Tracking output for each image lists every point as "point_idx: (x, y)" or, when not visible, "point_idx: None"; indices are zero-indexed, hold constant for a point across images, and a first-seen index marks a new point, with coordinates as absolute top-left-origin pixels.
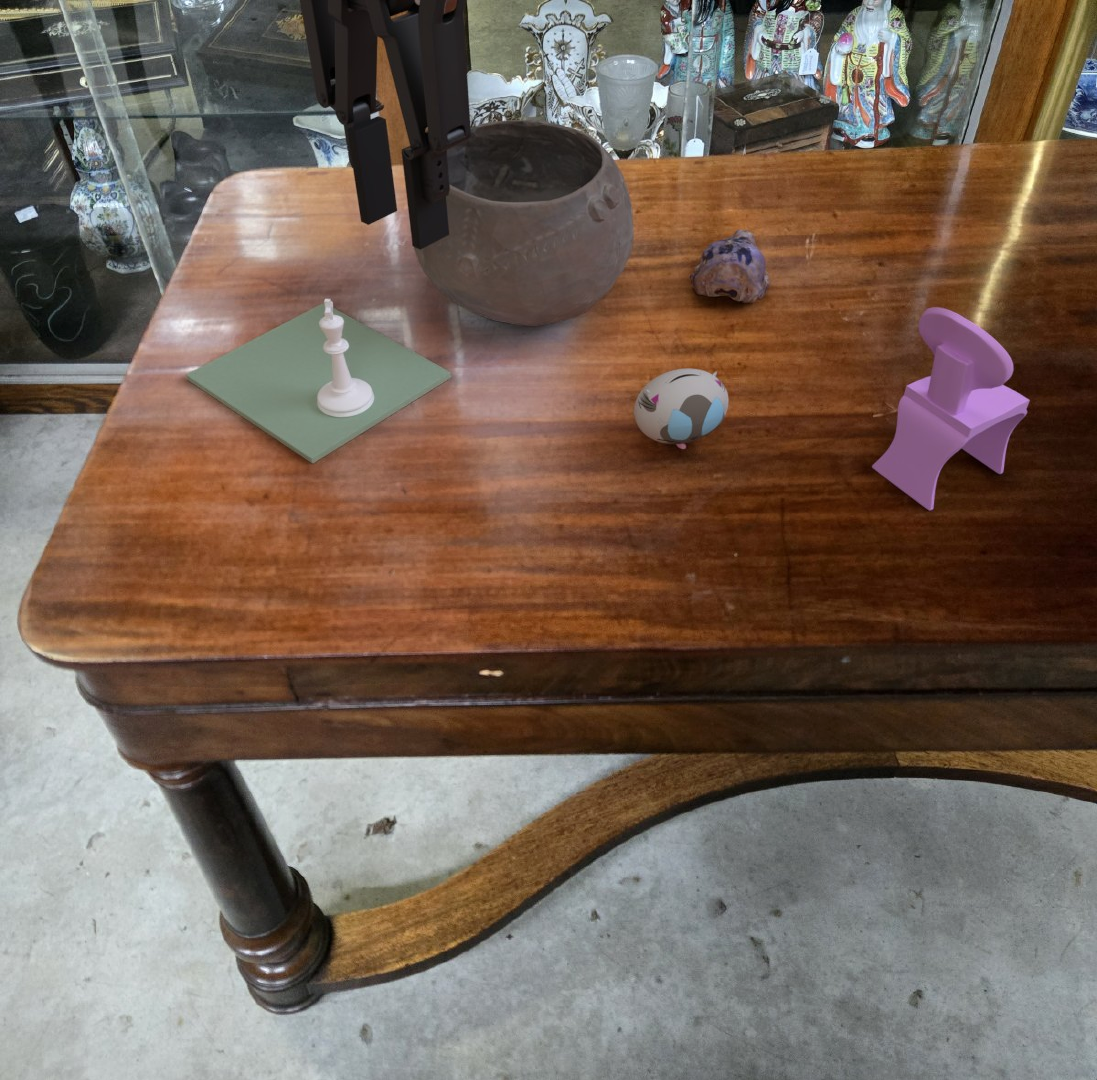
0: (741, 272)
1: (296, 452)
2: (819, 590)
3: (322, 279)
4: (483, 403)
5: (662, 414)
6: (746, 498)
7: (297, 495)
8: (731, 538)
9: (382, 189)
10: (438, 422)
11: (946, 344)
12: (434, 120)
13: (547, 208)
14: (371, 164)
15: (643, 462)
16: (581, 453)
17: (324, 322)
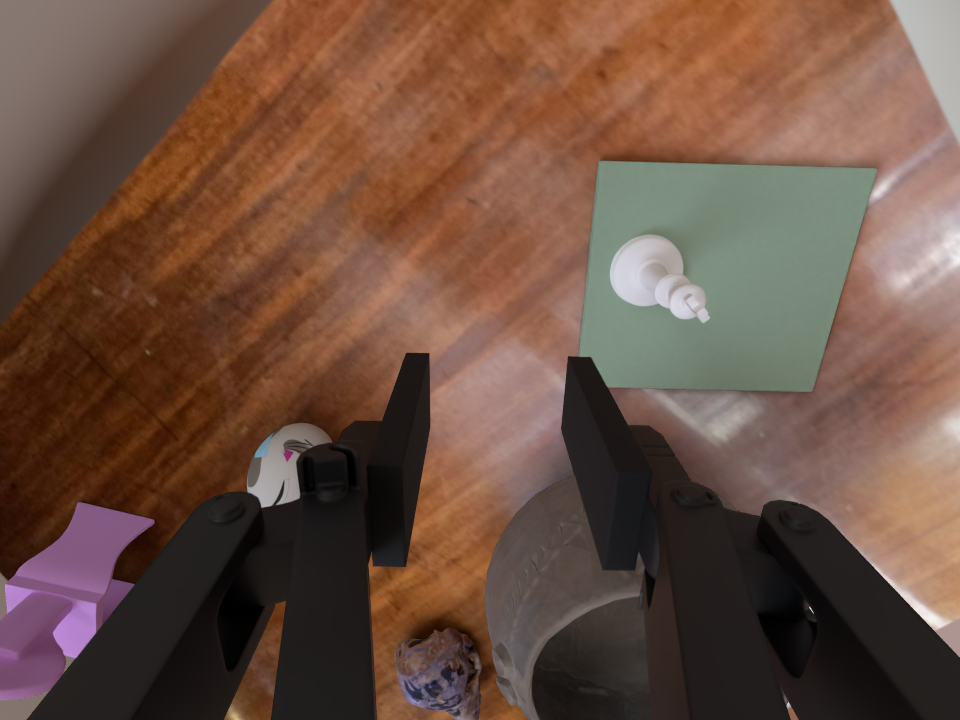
0: (404, 669)
1: (630, 161)
2: (62, 362)
3: (852, 427)
4: (512, 372)
5: (275, 443)
6: (200, 420)
7: (570, 104)
8: (167, 367)
9: (573, 431)
10: (529, 316)
11: (9, 659)
12: (180, 567)
13: (541, 626)
14: (589, 448)
15: (310, 401)
16: (368, 374)
17: (693, 292)
